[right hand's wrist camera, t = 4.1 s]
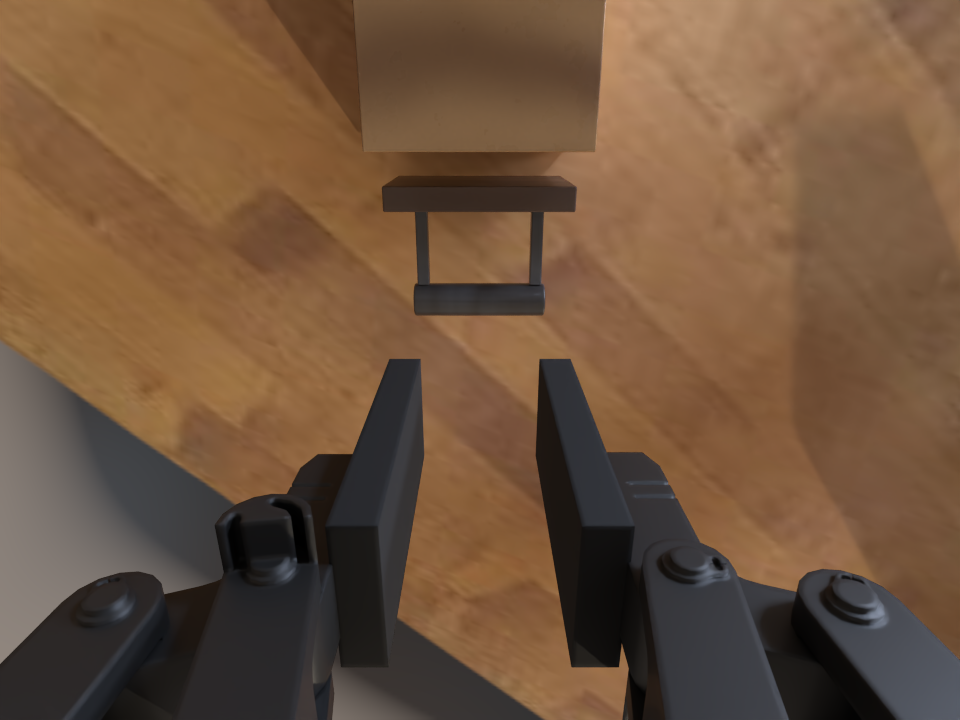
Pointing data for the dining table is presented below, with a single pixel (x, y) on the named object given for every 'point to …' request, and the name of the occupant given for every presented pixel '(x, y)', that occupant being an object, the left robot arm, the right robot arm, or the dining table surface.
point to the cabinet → (479, 74)
